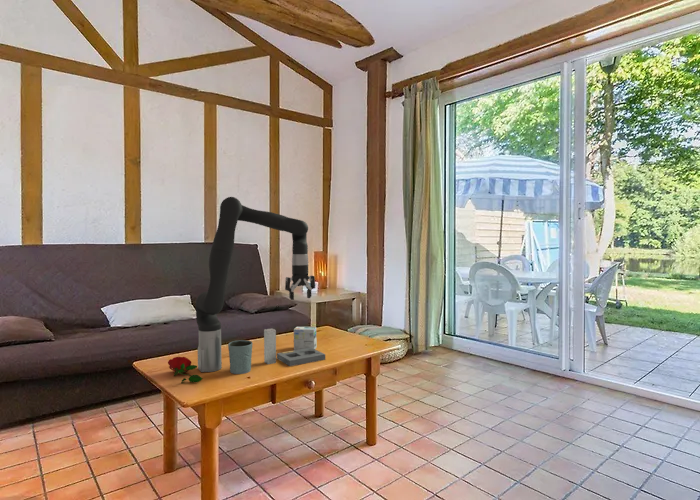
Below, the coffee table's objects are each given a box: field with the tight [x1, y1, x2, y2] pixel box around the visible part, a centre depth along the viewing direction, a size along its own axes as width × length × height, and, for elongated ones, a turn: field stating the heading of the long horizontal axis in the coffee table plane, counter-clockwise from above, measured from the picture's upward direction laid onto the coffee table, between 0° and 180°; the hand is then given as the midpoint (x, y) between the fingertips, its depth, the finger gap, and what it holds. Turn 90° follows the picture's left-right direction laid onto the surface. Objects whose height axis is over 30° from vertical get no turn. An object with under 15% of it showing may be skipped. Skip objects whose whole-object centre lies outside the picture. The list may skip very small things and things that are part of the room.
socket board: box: [276, 348, 326, 367], centre depth 198 cm, size 18×14×3 cm
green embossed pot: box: [227, 339, 253, 375], centre depth 181 cm, size 10×10×12 cm
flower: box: [167, 356, 204, 384], centre depth 171 cm, size 9×10×30 cm
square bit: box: [263, 328, 277, 365], centre depth 193 cm, size 4×4×15 cm
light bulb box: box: [293, 326, 318, 351], centre depth 216 cm, size 11×7×11 cm, turn 84°
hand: (300, 298), depth 197 cm, fingers open, 8 cm apart
